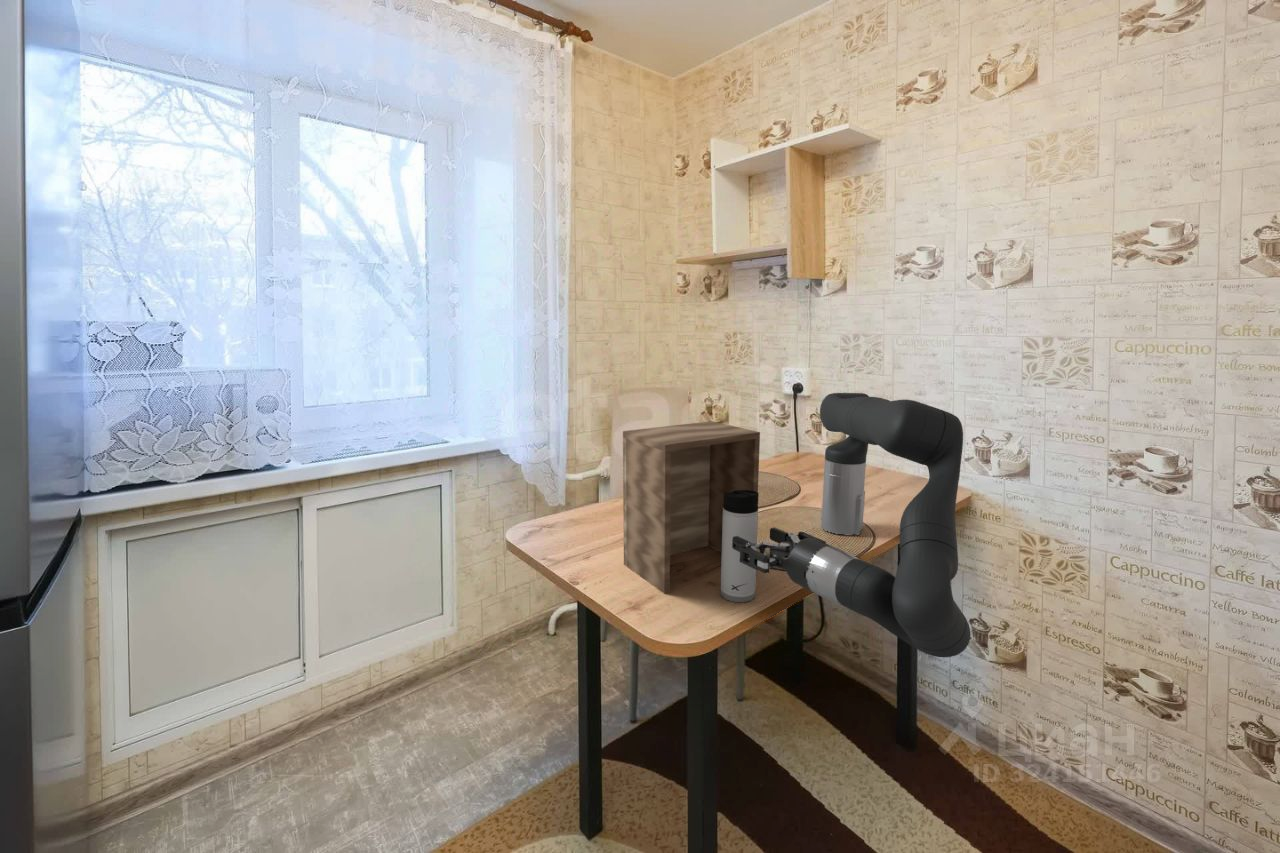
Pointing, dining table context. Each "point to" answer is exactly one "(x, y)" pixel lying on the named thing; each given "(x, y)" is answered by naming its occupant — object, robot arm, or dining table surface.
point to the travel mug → (734, 574)
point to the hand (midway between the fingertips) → (752, 537)
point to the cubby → (681, 490)
